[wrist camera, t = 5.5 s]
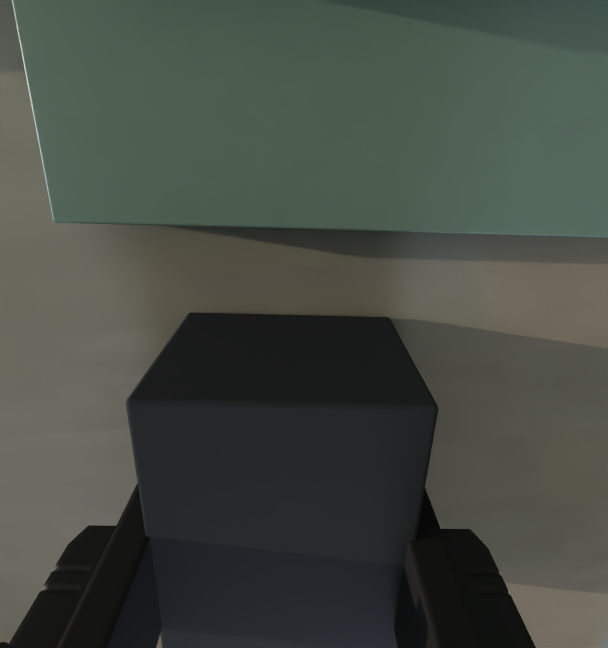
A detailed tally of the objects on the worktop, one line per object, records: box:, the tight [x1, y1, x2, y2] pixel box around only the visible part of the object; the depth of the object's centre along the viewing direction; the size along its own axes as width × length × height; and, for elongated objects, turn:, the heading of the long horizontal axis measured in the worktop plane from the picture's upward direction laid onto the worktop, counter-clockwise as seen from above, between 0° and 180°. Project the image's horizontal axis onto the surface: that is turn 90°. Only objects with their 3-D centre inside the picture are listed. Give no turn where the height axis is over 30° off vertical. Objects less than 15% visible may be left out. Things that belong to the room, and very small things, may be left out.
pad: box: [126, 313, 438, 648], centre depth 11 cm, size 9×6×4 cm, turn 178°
